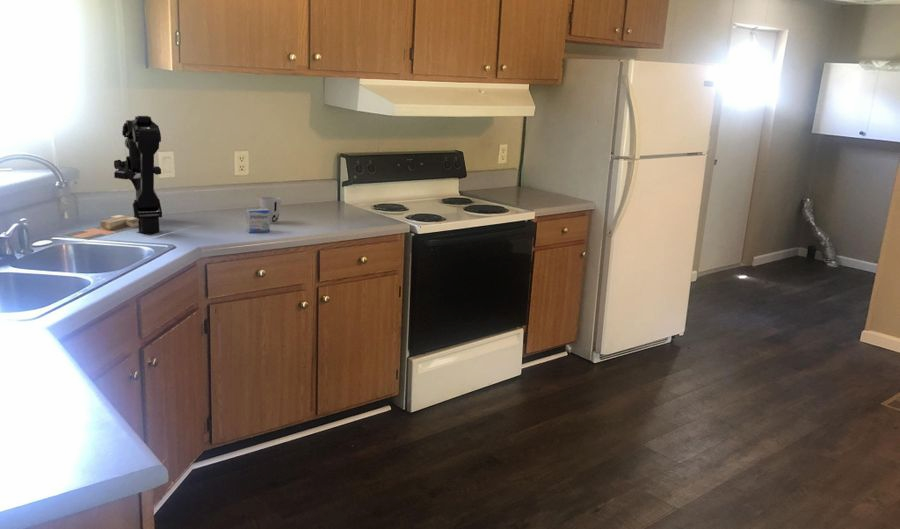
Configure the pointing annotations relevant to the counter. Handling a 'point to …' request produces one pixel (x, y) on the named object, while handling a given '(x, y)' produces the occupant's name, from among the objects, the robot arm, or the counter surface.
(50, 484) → the counter surface
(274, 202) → the cup
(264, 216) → the medicine box
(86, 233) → the mat
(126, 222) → the t block
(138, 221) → the robot arm
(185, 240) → the counter surface
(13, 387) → the counter surface
